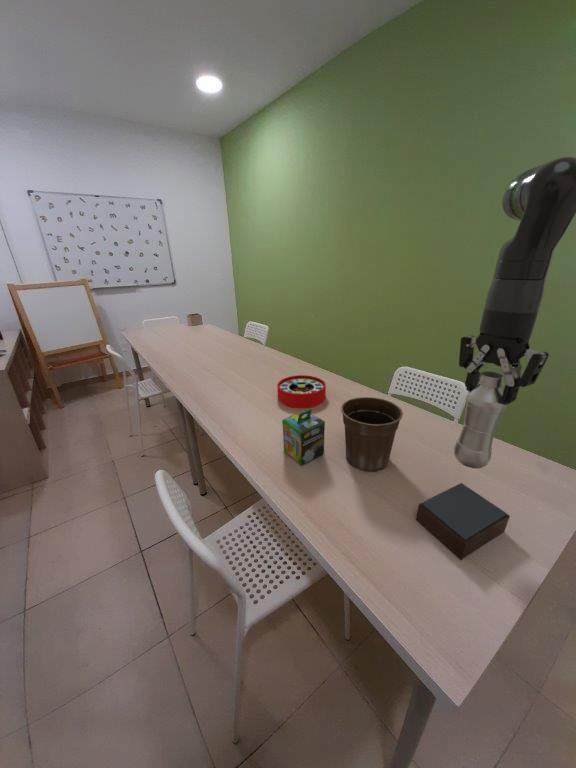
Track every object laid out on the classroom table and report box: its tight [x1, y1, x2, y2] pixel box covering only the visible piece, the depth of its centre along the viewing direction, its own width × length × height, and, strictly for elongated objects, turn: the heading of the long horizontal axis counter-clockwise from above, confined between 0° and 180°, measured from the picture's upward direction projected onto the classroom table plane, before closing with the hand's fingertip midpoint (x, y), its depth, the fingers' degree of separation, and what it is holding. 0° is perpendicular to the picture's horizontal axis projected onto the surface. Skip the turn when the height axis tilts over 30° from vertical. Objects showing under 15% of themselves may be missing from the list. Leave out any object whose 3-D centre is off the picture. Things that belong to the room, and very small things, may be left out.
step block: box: [415, 482, 511, 561], centre depth 64 cm, size 14×11×5 cm
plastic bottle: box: [453, 370, 508, 469], centre depth 59 cm, size 6×7×20 cm
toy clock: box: [277, 374, 327, 409], centre depth 125 cm, size 20×6×20 cm
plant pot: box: [340, 396, 404, 472], centre depth 85 cm, size 16×16×16 cm
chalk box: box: [281, 408, 326, 466], centre depth 88 cm, size 9×9×15 cm
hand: (487, 396), depth 57 cm, fingers closed on plastic bottle, 6 cm apart
